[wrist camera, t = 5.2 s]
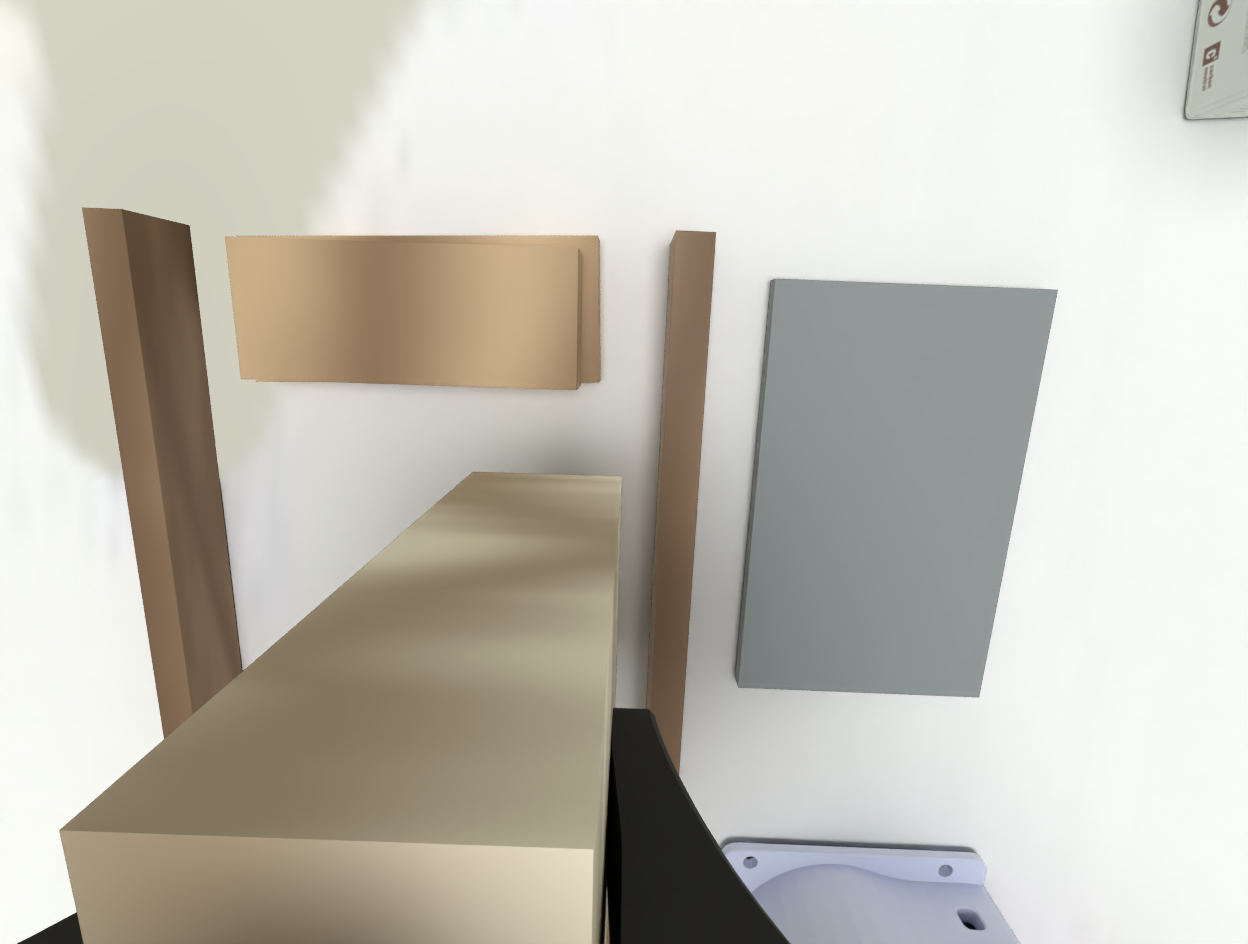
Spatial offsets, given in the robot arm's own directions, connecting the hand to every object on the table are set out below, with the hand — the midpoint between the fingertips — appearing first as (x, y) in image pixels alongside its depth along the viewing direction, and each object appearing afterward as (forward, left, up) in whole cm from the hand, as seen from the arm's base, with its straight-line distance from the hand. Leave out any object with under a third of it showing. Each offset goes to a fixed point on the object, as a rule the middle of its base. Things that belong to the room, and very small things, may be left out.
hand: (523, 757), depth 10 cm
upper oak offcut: (+4, -7, -9) cm, 12 cm away
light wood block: (0, 0, -3) cm, 3 cm away
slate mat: (-9, -2, -10) cm, 14 cm away
